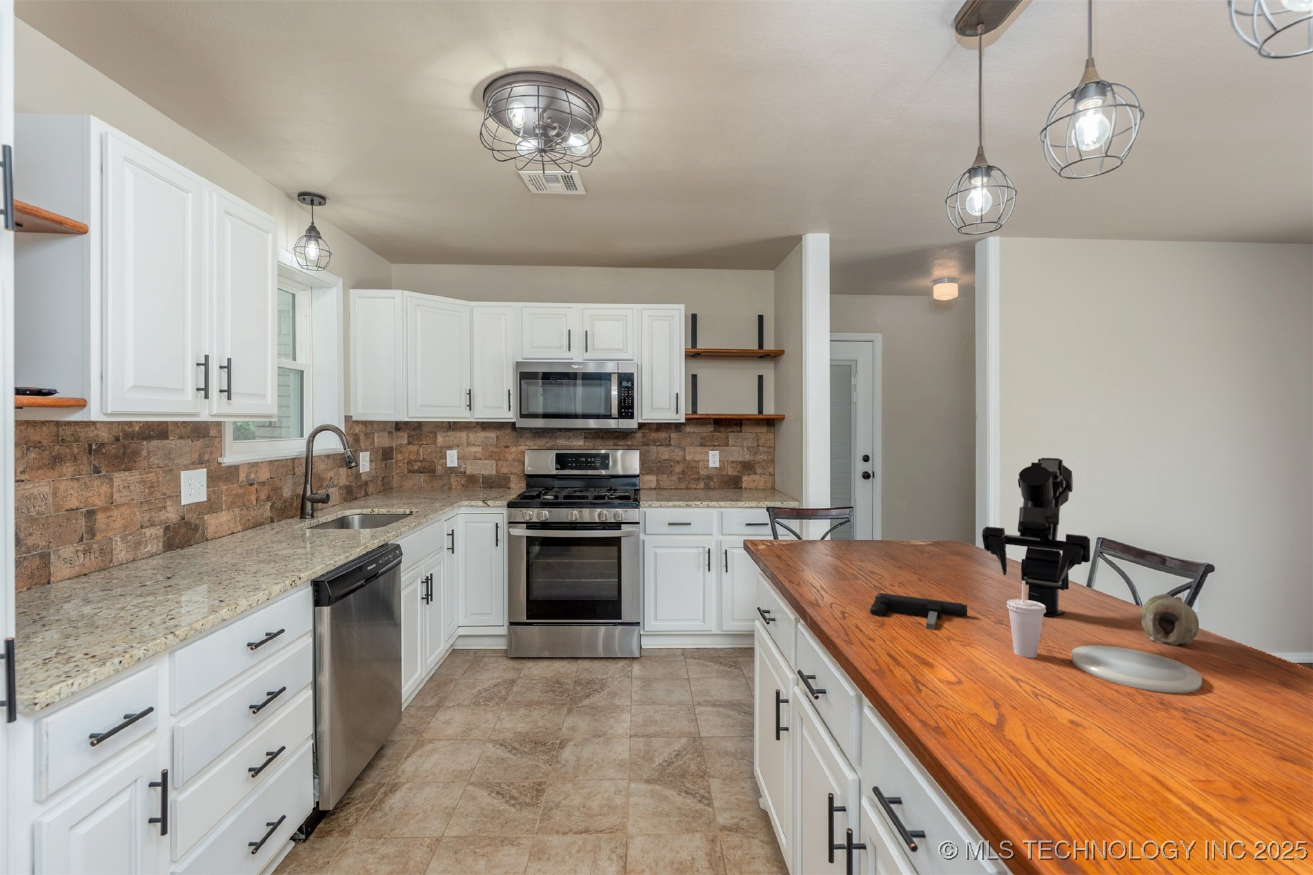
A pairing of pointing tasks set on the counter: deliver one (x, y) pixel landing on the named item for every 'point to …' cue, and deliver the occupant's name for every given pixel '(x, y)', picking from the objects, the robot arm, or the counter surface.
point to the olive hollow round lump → (1169, 620)
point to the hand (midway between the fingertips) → (1030, 577)
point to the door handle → (916, 607)
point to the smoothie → (1025, 624)
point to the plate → (1137, 669)
